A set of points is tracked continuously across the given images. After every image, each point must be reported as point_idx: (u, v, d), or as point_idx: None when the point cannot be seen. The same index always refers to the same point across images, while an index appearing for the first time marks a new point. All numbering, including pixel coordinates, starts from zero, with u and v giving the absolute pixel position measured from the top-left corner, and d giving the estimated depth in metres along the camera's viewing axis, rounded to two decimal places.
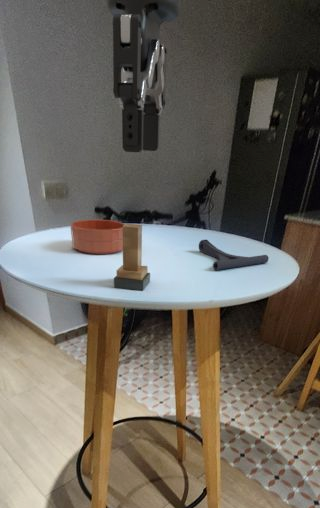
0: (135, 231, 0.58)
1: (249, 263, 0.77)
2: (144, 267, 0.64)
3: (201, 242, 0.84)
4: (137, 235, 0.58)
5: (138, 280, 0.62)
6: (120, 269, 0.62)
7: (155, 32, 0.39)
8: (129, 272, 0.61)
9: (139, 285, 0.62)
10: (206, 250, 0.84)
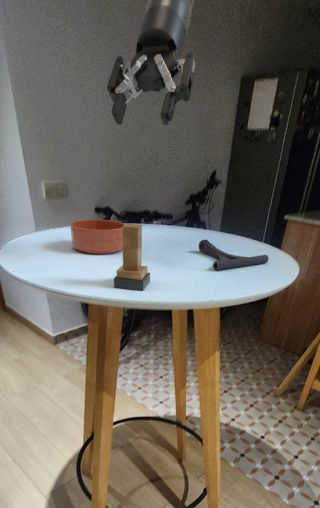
0: (135, 231, 0.58)
1: (249, 263, 0.77)
2: (144, 267, 0.64)
3: (201, 242, 0.84)
4: (137, 235, 0.58)
5: (138, 280, 0.62)
6: (120, 269, 0.62)
7: None
8: (129, 272, 0.61)
9: (139, 285, 0.62)
10: (206, 250, 0.84)
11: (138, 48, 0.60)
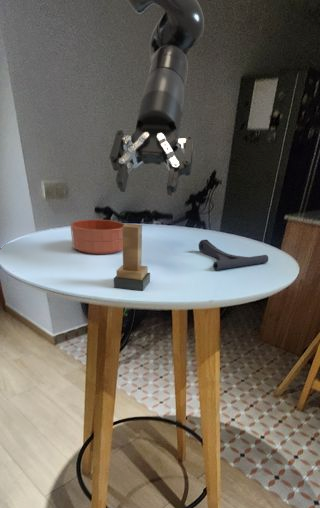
0: (135, 231, 0.58)
1: (249, 263, 0.77)
2: (144, 267, 0.64)
3: (201, 242, 0.84)
4: (137, 235, 0.58)
5: (138, 280, 0.62)
6: (120, 269, 0.62)
7: None
8: (129, 272, 0.61)
9: (139, 285, 0.62)
10: (206, 250, 0.84)
11: (138, 124, 0.64)
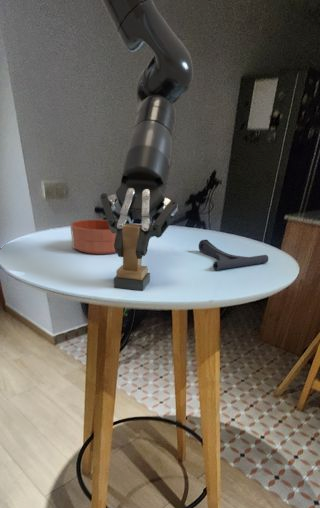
0: (135, 231, 0.58)
1: (249, 263, 0.77)
2: (144, 267, 0.64)
3: (201, 242, 0.84)
4: (137, 235, 0.58)
5: (138, 280, 0.62)
6: (120, 269, 0.62)
7: None
8: (129, 272, 0.61)
9: (139, 285, 0.62)
10: (206, 250, 0.84)
11: (123, 179, 0.61)
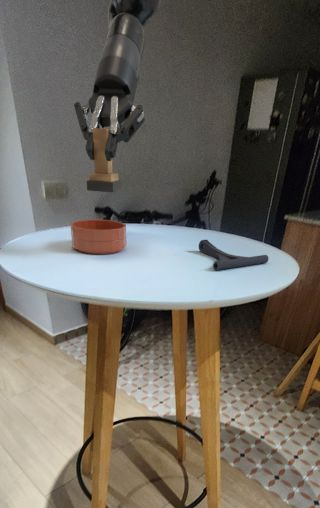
0: (104, 133, 0.65)
1: (249, 263, 0.77)
2: (115, 173, 0.70)
3: (201, 242, 0.84)
4: (106, 137, 0.65)
5: (108, 182, 0.68)
6: (92, 172, 0.68)
7: None
8: (100, 174, 0.68)
9: (109, 187, 0.68)
10: (206, 250, 0.84)
11: (95, 89, 0.67)
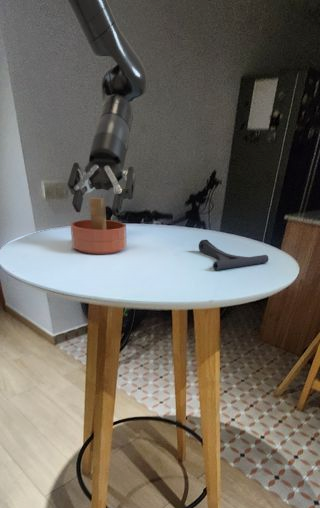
0: (99, 202, 0.78)
1: (249, 263, 0.77)
2: None
3: (201, 242, 0.84)
4: (101, 205, 0.78)
5: None
6: None
7: None
8: None
9: None
10: (206, 250, 0.84)
11: (91, 158, 0.80)
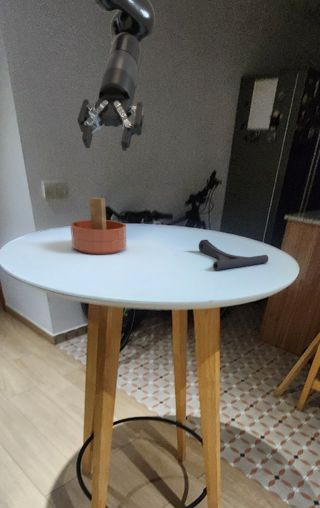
0: (99, 202, 0.78)
1: (249, 263, 0.77)
2: None
3: (201, 242, 0.84)
4: (101, 205, 0.78)
5: None
6: None
7: None
8: None
9: None
10: (206, 250, 0.84)
11: (100, 95, 0.81)
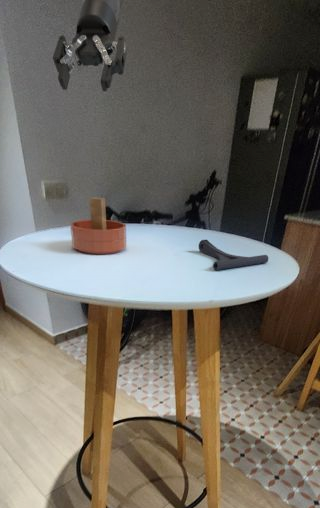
0: (99, 202, 0.78)
1: (249, 263, 0.77)
2: None
3: (201, 242, 0.84)
4: (101, 205, 0.78)
5: None
6: None
7: None
8: None
9: None
10: (206, 250, 0.84)
11: (78, 30, 0.73)
